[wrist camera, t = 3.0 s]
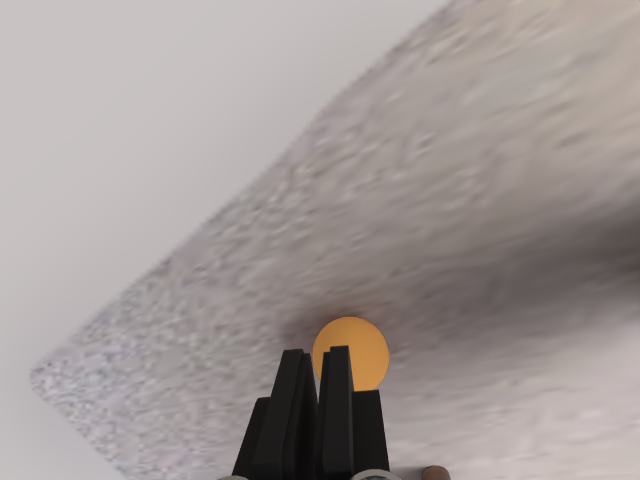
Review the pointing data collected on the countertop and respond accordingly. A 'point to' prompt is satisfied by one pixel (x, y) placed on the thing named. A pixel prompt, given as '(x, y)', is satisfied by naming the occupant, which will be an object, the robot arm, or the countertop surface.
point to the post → (435, 473)
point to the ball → (355, 350)
